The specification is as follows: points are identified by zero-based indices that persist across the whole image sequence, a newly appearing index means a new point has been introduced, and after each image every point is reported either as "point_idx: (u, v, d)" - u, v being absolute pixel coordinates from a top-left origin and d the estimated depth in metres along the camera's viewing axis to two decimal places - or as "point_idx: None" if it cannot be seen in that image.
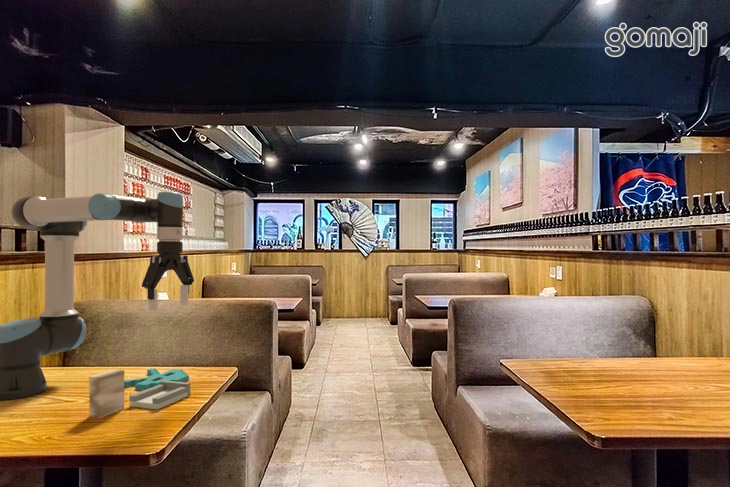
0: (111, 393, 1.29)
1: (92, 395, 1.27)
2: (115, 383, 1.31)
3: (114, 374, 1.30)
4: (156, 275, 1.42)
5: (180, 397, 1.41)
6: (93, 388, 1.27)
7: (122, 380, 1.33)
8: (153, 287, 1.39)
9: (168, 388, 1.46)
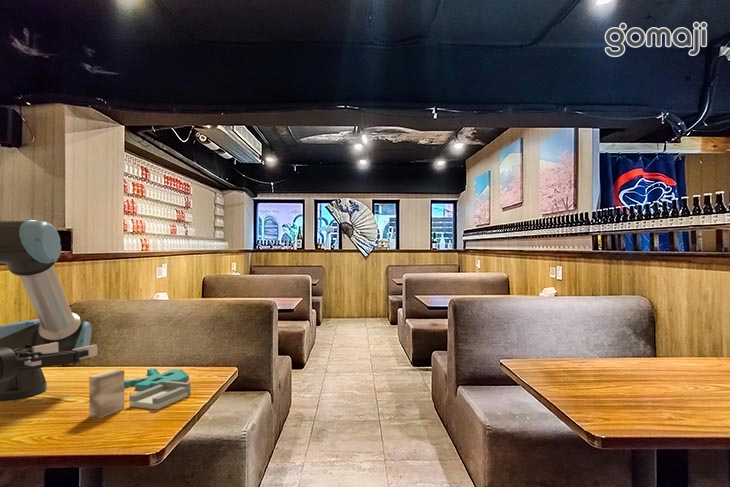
0: (111, 393, 1.29)
1: (92, 395, 1.27)
2: (115, 383, 1.31)
3: (114, 374, 1.30)
4: None
5: (180, 397, 1.41)
6: (93, 388, 1.27)
7: (122, 380, 1.33)
8: None
9: (168, 388, 1.46)
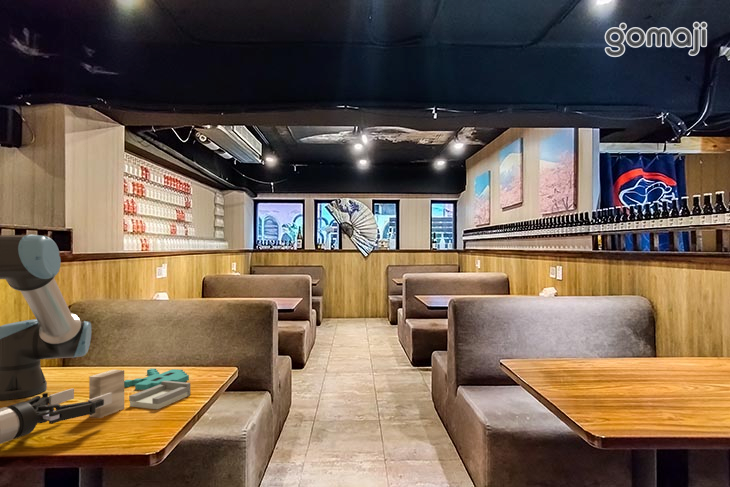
0: None
1: (92, 395, 1.27)
2: (115, 383, 1.31)
3: (114, 374, 1.30)
4: None
5: (180, 397, 1.41)
6: (93, 388, 1.27)
7: (122, 380, 1.33)
8: None
9: (168, 388, 1.46)
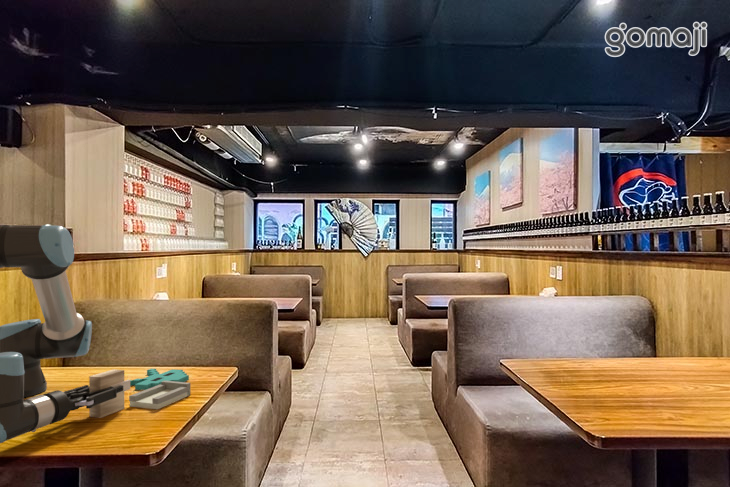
0: None
1: None
2: (115, 383, 1.31)
3: (114, 374, 1.30)
4: None
5: (180, 397, 1.41)
6: (93, 387, 1.27)
7: (122, 380, 1.33)
8: None
9: (168, 388, 1.46)
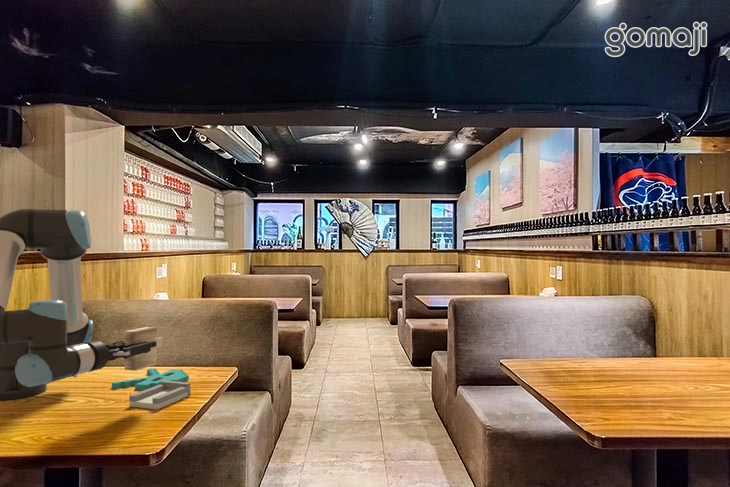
0: None
1: None
2: (149, 339, 1.36)
3: (147, 330, 1.36)
4: None
5: (180, 397, 1.41)
6: (128, 342, 1.32)
7: (155, 337, 1.38)
8: None
9: (168, 388, 1.46)
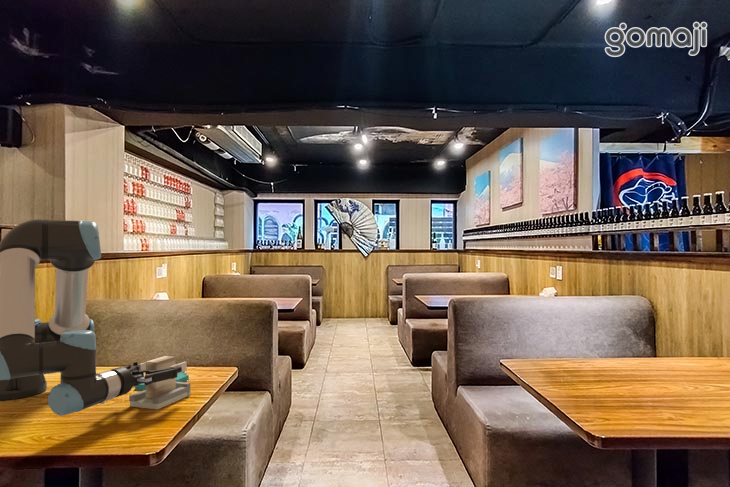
0: None
1: None
2: None
3: (167, 360, 1.40)
4: None
5: (180, 397, 1.41)
6: None
7: None
8: None
9: None
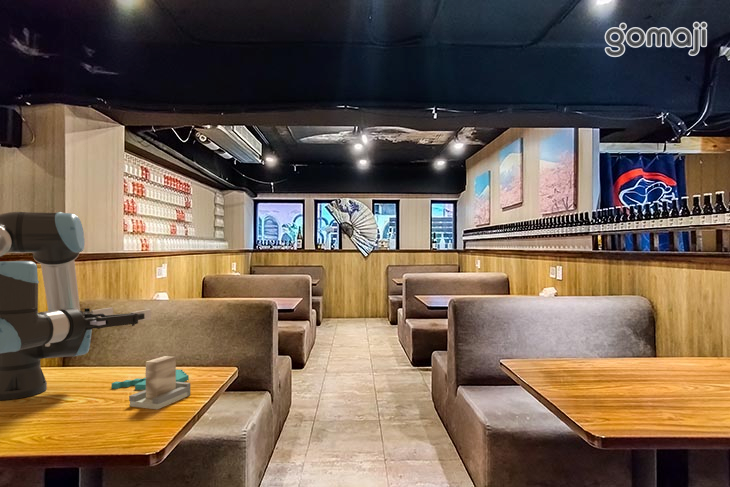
0: (165, 377, 1.39)
1: (148, 378, 1.37)
2: (168, 368, 1.41)
3: (167, 360, 1.40)
4: None
5: (180, 397, 1.41)
6: (149, 372, 1.37)
7: (174, 366, 1.43)
8: None
9: None
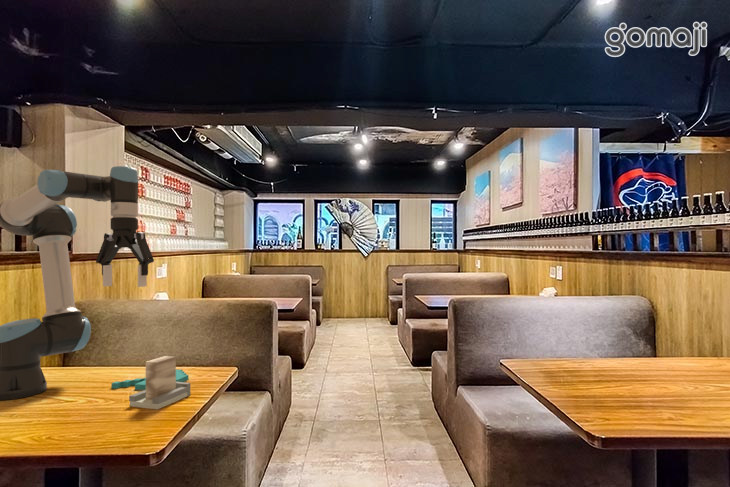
0: (165, 377, 1.39)
1: (148, 378, 1.37)
2: (168, 368, 1.41)
3: (167, 360, 1.40)
4: None
5: (180, 397, 1.41)
6: (149, 372, 1.37)
7: (174, 366, 1.43)
8: (101, 263, 1.43)
9: None
